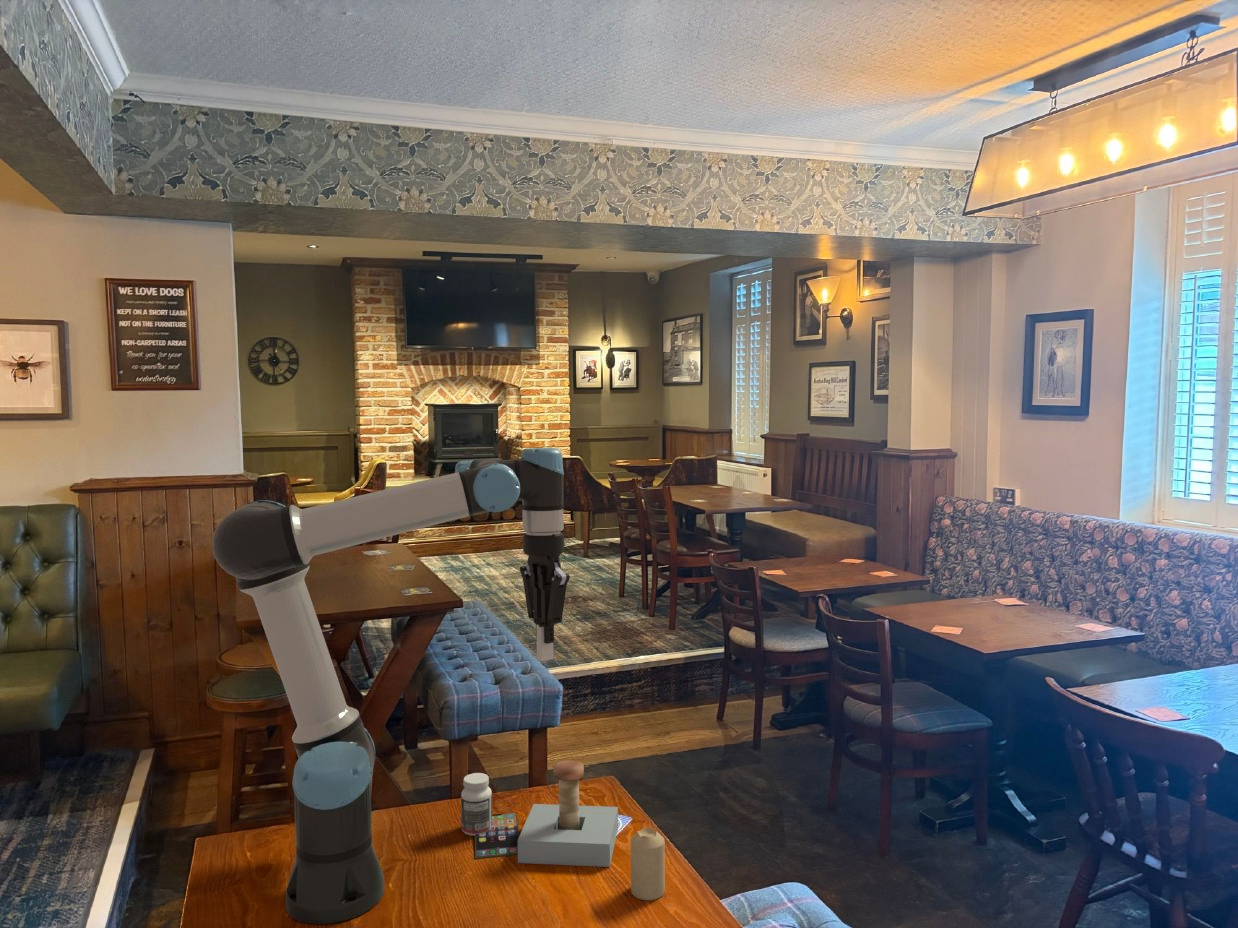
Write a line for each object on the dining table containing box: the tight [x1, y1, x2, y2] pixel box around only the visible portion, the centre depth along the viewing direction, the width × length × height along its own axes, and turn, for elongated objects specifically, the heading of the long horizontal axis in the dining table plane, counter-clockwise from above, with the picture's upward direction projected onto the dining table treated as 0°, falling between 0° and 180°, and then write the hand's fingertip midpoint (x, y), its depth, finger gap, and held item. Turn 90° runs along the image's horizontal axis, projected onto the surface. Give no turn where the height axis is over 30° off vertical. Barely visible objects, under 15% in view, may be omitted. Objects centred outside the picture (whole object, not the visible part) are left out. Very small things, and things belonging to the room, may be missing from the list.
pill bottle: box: [460, 772, 493, 837], centre depth 161 cm, size 6×6×10 cm
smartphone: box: [474, 812, 520, 860], centre depth 159 cm, size 8×15×1 cm, turn 10°
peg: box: [553, 759, 585, 830], centre depth 155 cm, size 5×5×14 cm
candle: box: [630, 827, 666, 901], centre depth 140 cm, size 6×6×10 cm
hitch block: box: [517, 803, 619, 868], centre depth 155 cm, size 16×14×4 cm
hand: (545, 659), depth 159 cm, fingers closed
